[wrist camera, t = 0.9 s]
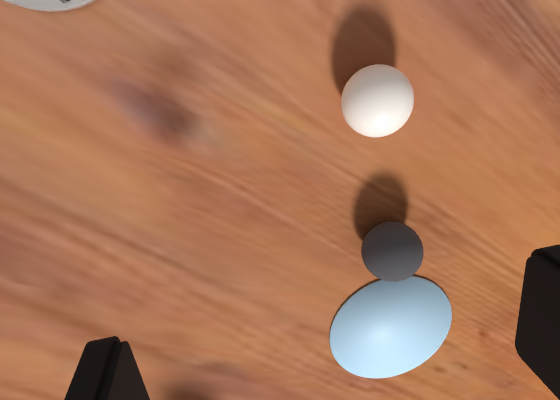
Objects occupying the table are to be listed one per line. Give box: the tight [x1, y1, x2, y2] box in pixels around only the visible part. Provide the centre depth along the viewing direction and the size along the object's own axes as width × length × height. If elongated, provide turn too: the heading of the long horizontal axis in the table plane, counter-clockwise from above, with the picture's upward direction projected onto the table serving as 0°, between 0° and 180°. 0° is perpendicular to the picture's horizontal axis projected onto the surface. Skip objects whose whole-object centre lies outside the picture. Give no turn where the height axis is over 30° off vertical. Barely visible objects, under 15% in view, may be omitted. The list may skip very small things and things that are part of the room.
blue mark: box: [329, 276, 452, 378], centre depth 45 cm, size 14×14×1 cm
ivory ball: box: [341, 64, 414, 137], centre depth 32 cm, size 6×6×6 cm
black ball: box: [361, 222, 423, 282], centre depth 38 cm, size 6×6×6 cm
